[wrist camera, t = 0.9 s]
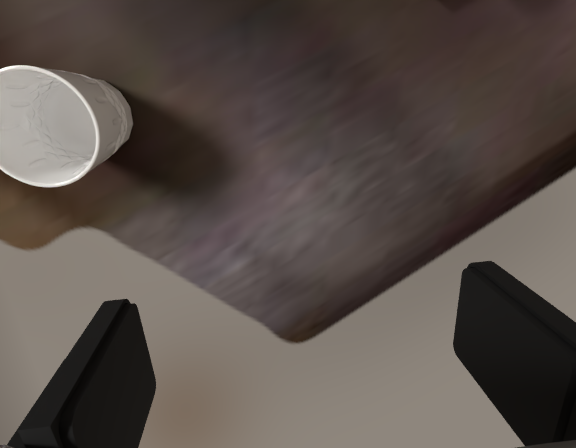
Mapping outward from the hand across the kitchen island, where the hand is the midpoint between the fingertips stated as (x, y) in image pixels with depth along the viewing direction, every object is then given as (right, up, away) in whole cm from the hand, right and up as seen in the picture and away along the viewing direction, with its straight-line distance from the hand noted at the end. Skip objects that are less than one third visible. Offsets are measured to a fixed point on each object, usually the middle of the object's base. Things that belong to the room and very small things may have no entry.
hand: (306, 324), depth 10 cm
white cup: (-18, +13, +23) cm, 32 cm away
